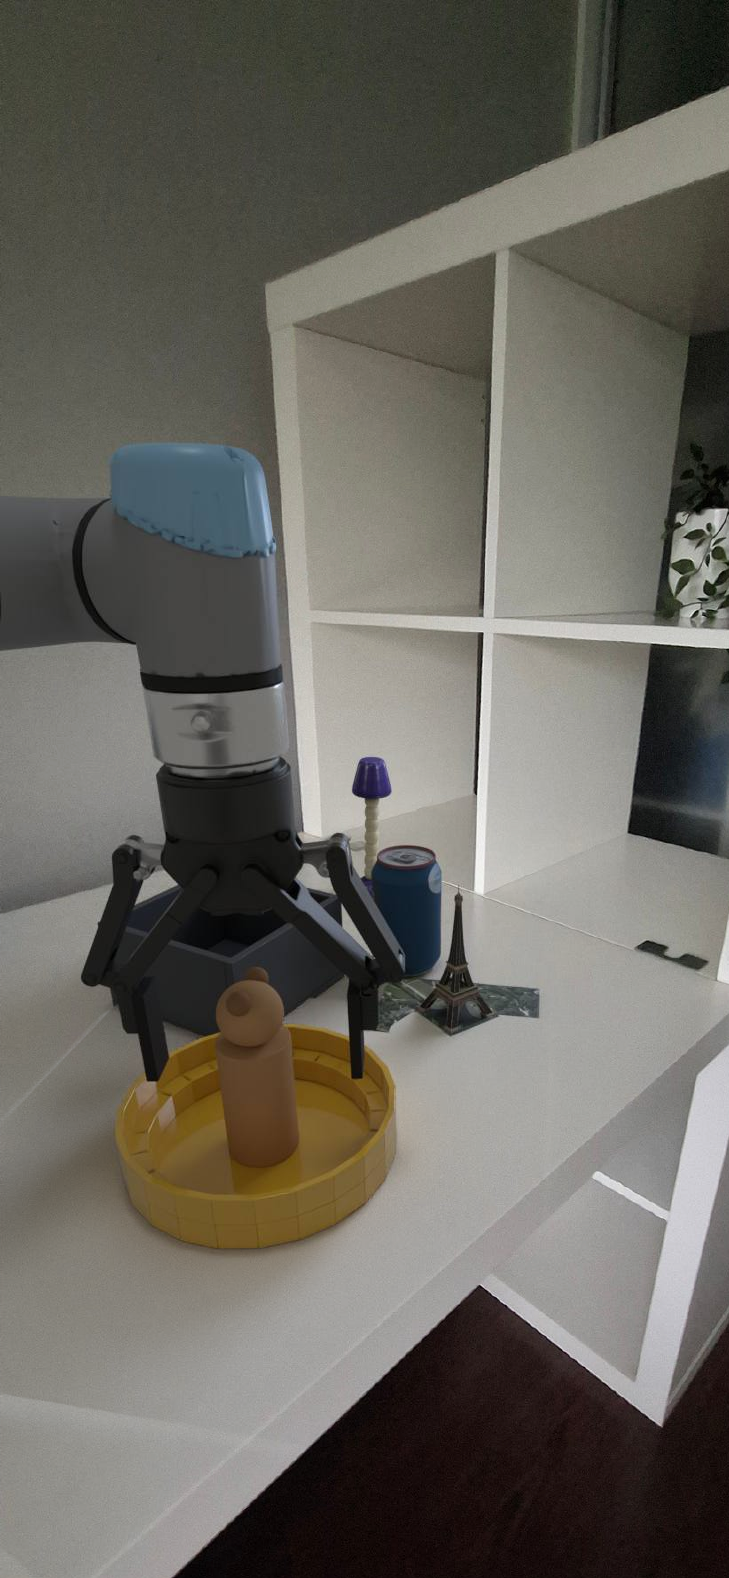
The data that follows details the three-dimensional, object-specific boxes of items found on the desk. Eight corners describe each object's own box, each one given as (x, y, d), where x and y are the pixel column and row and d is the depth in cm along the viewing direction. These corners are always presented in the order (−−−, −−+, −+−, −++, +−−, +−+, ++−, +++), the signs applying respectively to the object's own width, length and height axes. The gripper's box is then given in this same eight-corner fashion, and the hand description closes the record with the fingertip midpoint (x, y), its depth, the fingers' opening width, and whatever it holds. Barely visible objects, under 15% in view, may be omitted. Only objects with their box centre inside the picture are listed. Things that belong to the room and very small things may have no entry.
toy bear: (217, 1163, 56) (193, 996, 50) (243, 1117, 60) (224, 959, 54) (286, 1171, 55) (271, 1003, 49) (307, 1124, 60) (295, 964, 54)
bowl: (65, 1185, 55) (51, 1133, 53) (249, 1045, 70) (244, 1001, 68) (288, 1303, 46) (282, 1246, 44) (442, 1115, 61) (443, 1067, 59)
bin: (113, 1006, 75) (96, 922, 71) (226, 940, 87) (217, 865, 84) (241, 1054, 68) (231, 963, 65) (345, 975, 81) (341, 895, 77)
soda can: (454, 961, 83) (456, 853, 78) (411, 987, 79) (410, 874, 73) (403, 942, 87) (402, 837, 82) (359, 965, 82) (355, 856, 77)
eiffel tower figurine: (541, 993, 78) (551, 865, 72) (537, 1053, 69) (548, 912, 63) (390, 980, 80) (388, 854, 74) (367, 1036, 71) (362, 898, 65)
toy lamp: (395, 885, 101) (394, 754, 94) (389, 900, 97) (386, 765, 90) (358, 883, 102) (354, 753, 95) (350, 897, 98) (345, 763, 91)
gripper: (-31, 780, 42) (52, 1105, 51) (445, 775, 42) (443, 1100, 51) (30, 746, 49) (94, 1039, 58) (440, 743, 49) (439, 1035, 58)
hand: (258, 1068), depth 55 cm, fingers open, 13 cm apart
